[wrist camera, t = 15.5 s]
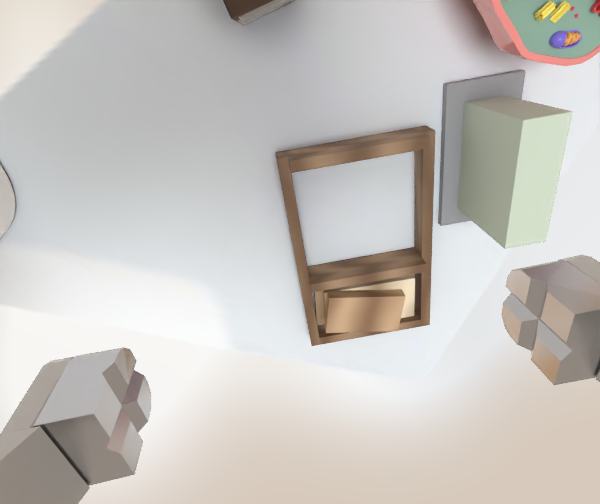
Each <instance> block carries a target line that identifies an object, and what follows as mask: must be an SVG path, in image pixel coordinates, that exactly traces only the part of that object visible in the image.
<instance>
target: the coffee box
mask: <svg viewBox="0 0 600 504" xmlns="http://www.w3.org/2000/svg"><path fill="white" fill-rule="evenodd" d="M223 1H224V3H225V6H226V8H227V10H228V12H229V15H230V17H231V19H234V20H236V21H237V22H239V23H241V24H242V25H245V24H248V23H250V22H252V21H254V20H256V19H258V18H260V17H262V16H264V15H266V14H268V13H270V12H273V11H275V10H277V9H279V8H281V7H283V6H285V5H287V4H289V3H291V2H293V1H295V0H223Z"/></svg>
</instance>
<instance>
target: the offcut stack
mask: <svg viewBox="0 0 600 504" xmlns="http://www.w3.org/2000/svg"><path fill="white" fill-rule="evenodd" d="M314 297H315V314H316V322H317V324H324V327H325V331H326V333H346V332H376V331H398V329H399V324H400V320H401V318H405V317H411V316H414V303H415V277H414V274H413V275H407V276H401V277H396V278H390V279H385V280H379V281H374V282H368V283H363V284H357V285H352V286H346V287H340V288H335V289H329V290H324V291H318V292H314Z"/></svg>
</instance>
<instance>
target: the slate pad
mask: <svg viewBox="0 0 600 504" xmlns="http://www.w3.org/2000/svg"><path fill="white" fill-rule="evenodd" d="M524 77H525V71H524V70H518V71H512V72H507V73H501V74H496V75H490V76H484V77H479V78H473V79H468V80H462V81H457V82H451V83H445V84H444V91H443V117H442V143H441V169H440V195H439V221H438V223H439V224H440V225H441V226H443V225H448V224H454V223H459V222H465V221H470V220H471V219H470V218H468V217H467V216H466V215H465V214H464V213H463V212H461V211H460V210H459V209H458V208H457V207H458V191H459V176H460V161H461V145H462V130H463V115H464V102H469V101H474V100H480V99H485V98H491V97H496V96H502V95H503V96H507V97H511V98H516V99H520V100H521V99H522V91H523V84H524Z"/></svg>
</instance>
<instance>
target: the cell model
mask: <svg viewBox="0 0 600 504" xmlns="http://www.w3.org/2000/svg"><path fill="white" fill-rule="evenodd" d="M473 2H474V4H475V5H476V7H477V9H478V11H479V12H480V14H481V16H482V18H483V19H484V21H485V23H486V25H487V27H488V29H489V32H490V33H491V36H492V38H493V41H494V42H495V44H496V46H497V47H498V48H499V49H501V50H502V51H503V52H506V53H509V54H512V55H515V56H518V57H521V58H524V59H528V60H532V61H537V62H542V63H549V64H555V65H562V66H569V65H575V64H581V63H583V62H585V61H586V60H588V59H590V58H592V57H593V56H594V55H596V54H597V53H598V52H600V0H473Z"/></svg>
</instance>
